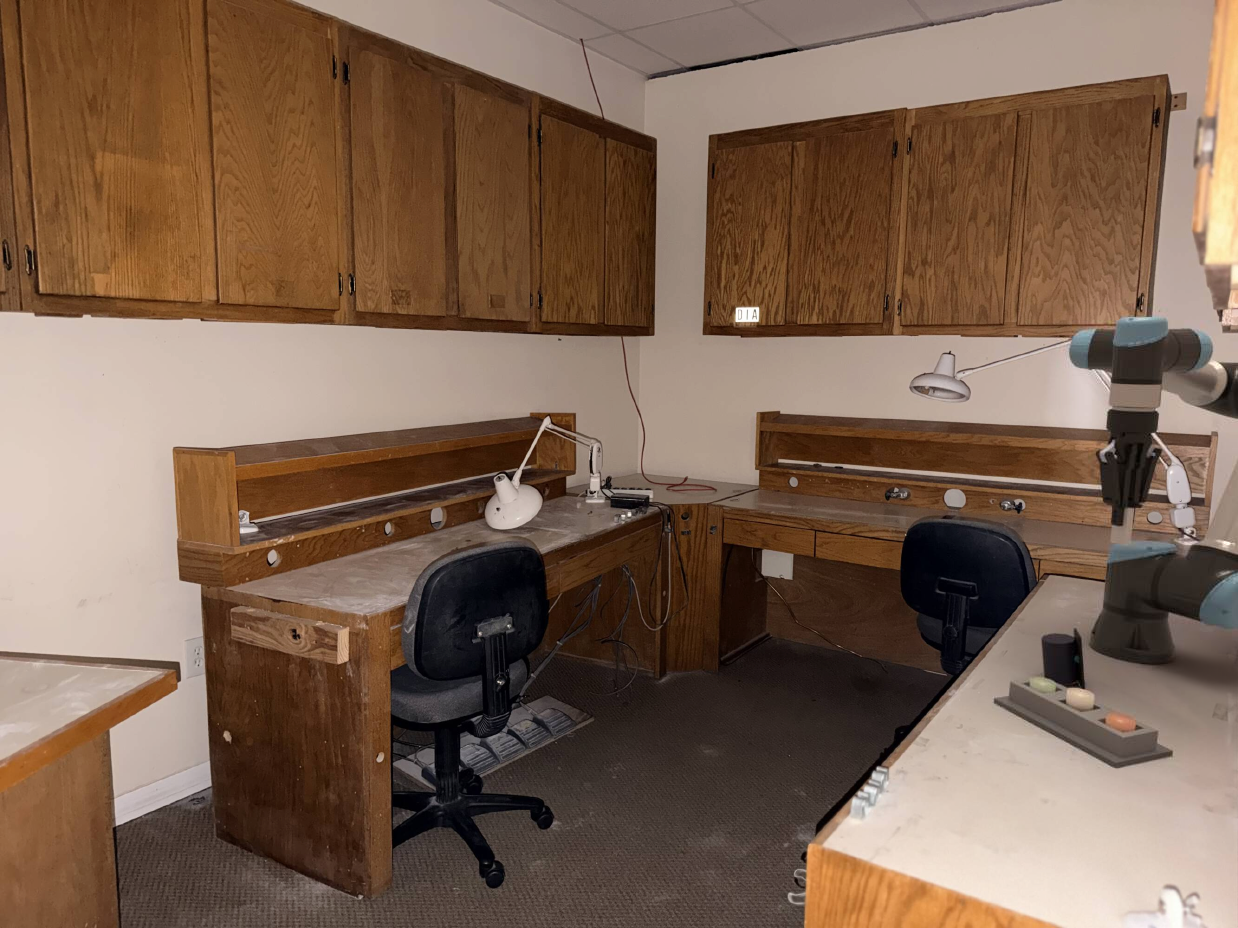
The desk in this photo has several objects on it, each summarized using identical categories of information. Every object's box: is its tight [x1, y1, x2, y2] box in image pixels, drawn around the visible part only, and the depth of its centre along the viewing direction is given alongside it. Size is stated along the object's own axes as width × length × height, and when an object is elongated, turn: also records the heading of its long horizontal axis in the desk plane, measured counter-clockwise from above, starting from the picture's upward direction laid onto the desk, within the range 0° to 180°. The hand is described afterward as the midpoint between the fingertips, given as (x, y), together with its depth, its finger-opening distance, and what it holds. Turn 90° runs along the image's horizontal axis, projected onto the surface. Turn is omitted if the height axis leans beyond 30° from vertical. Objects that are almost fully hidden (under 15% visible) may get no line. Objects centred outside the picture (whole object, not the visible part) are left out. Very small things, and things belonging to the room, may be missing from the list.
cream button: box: [1066, 687, 1095, 712], centre depth 138 cm, size 4×4×4 cm
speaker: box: [1040, 627, 1086, 690], centre depth 156 cm, size 8×6×10 cm
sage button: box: [1029, 676, 1056, 694], centre depth 145 cm, size 4×4×4 cm
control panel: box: [993, 675, 1174, 769], centre depth 138 cm, size 24×12×4 cm, turn 20°
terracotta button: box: [1105, 712, 1136, 733], centre depth 131 cm, size 4×4×4 cm
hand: (1120, 543), depth 146 cm, fingers closed
